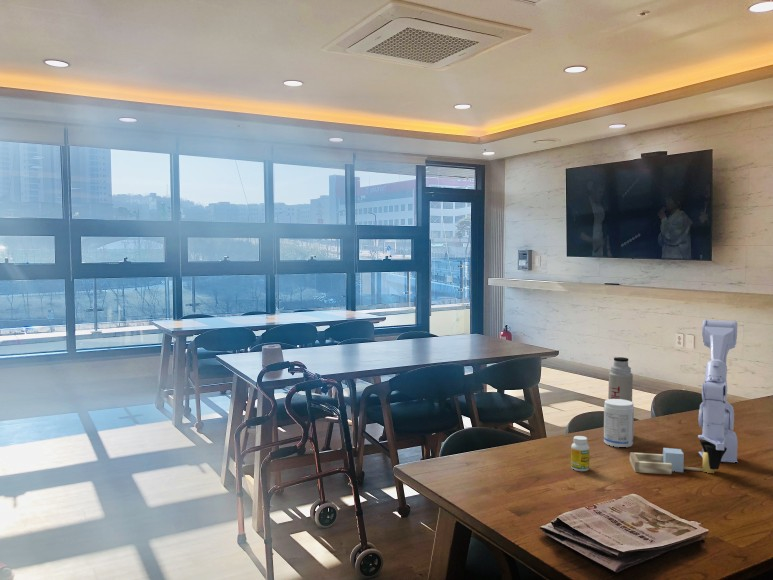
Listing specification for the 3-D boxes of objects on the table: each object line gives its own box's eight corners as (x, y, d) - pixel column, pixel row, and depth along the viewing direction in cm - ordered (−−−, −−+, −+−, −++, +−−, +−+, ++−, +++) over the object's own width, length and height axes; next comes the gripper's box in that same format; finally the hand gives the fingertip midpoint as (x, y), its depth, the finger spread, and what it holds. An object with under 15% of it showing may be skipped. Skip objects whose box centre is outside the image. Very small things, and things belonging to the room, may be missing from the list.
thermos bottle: (619, 439, 220) (621, 360, 218) (602, 433, 227) (604, 356, 225) (636, 436, 223) (638, 358, 222) (619, 431, 231) (620, 355, 229)
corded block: (712, 469, 190) (712, 451, 189) (716, 475, 185) (716, 456, 185) (662, 465, 194) (663, 447, 193) (665, 470, 189) (665, 452, 188)
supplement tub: (613, 438, 222) (614, 397, 221) (638, 444, 214) (639, 402, 213) (597, 443, 216) (598, 401, 215) (623, 450, 208) (624, 406, 207)
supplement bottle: (578, 464, 194) (579, 434, 194) (593, 469, 190) (593, 438, 189) (567, 467, 191) (567, 436, 191) (581, 472, 187) (581, 441, 186)
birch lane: (664, 463, 195) (664, 454, 195) (671, 474, 186) (671, 464, 185) (629, 461, 197) (629, 452, 197) (635, 471, 188) (635, 462, 188)
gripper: (692, 415, 195) (691, 458, 195) (706, 427, 180) (704, 474, 181) (717, 416, 193) (715, 459, 194) (732, 429, 179) (731, 475, 180)
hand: (712, 466), depth 188 cm, fingers closed on corded block, 3 cm apart
